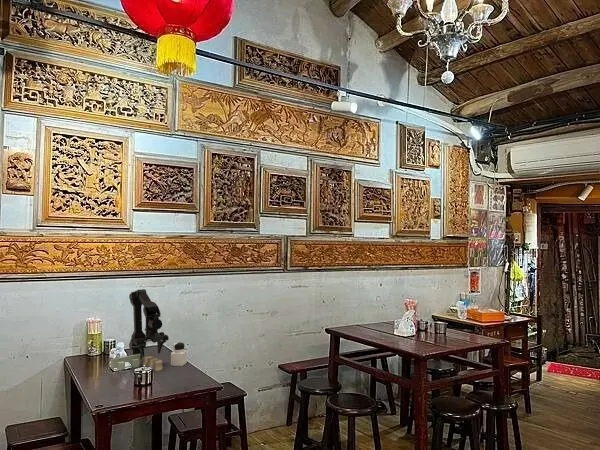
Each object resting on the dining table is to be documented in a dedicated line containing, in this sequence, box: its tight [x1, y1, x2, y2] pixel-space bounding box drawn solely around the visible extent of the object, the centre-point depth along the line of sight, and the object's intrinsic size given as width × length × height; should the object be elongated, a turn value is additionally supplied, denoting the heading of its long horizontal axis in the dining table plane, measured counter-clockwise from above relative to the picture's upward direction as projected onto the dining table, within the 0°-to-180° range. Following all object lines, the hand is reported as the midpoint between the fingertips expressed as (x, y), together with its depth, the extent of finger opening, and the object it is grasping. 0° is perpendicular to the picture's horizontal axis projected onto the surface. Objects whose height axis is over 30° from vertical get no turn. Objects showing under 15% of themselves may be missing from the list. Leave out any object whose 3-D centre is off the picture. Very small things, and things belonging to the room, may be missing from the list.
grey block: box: [110, 354, 141, 371], centre depth 268 cm, size 6×16×6 cm, turn 133°
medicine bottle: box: [170, 342, 188, 367], centre depth 274 cm, size 7×7×12 cm
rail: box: [141, 354, 163, 372], centre depth 268 cm, size 18×4×5 cm, turn 43°
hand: (151, 355), depth 269 cm, fingers open, 9 cm apart
